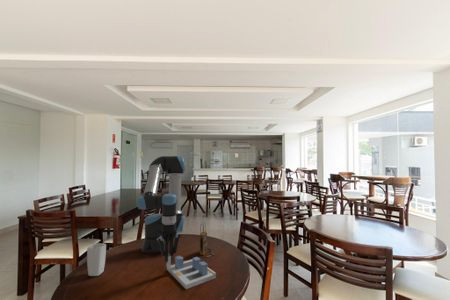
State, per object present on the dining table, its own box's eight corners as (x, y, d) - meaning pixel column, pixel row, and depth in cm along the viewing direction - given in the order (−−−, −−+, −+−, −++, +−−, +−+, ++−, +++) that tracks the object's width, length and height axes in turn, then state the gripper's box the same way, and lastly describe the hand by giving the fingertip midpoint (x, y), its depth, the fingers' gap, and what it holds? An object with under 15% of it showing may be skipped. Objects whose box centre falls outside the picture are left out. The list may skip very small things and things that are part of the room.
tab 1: (175, 266, 124) (175, 256, 125) (180, 264, 126) (180, 255, 126) (178, 268, 121) (178, 259, 121) (183, 267, 123) (183, 258, 123)
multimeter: (213, 258, 138) (213, 226, 139) (197, 257, 140) (197, 225, 141) (218, 249, 153) (218, 220, 154) (204, 248, 155) (204, 219, 156)
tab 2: (192, 267, 123) (192, 258, 123) (197, 265, 125) (197, 256, 125) (195, 270, 120) (195, 260, 120) (200, 268, 121) (200, 259, 122)
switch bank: (167, 270, 124) (167, 265, 124) (194, 261, 134) (194, 257, 134) (186, 289, 106) (186, 283, 106) (215, 278, 116) (215, 272, 116)
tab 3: (198, 272, 117) (198, 262, 117) (203, 270, 119) (203, 261, 119) (202, 275, 114) (202, 265, 114) (207, 273, 116) (207, 263, 116)
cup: (84, 277, 116) (85, 248, 117) (94, 270, 124) (94, 243, 124) (98, 278, 116) (99, 248, 117) (106, 271, 123) (107, 243, 124)
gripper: (159, 226, 114) (159, 274, 113) (183, 222, 122) (182, 266, 121) (154, 223, 120) (154, 268, 119) (177, 219, 128) (176, 261, 127)
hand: (168, 267), depth 120 cm, fingers closed
